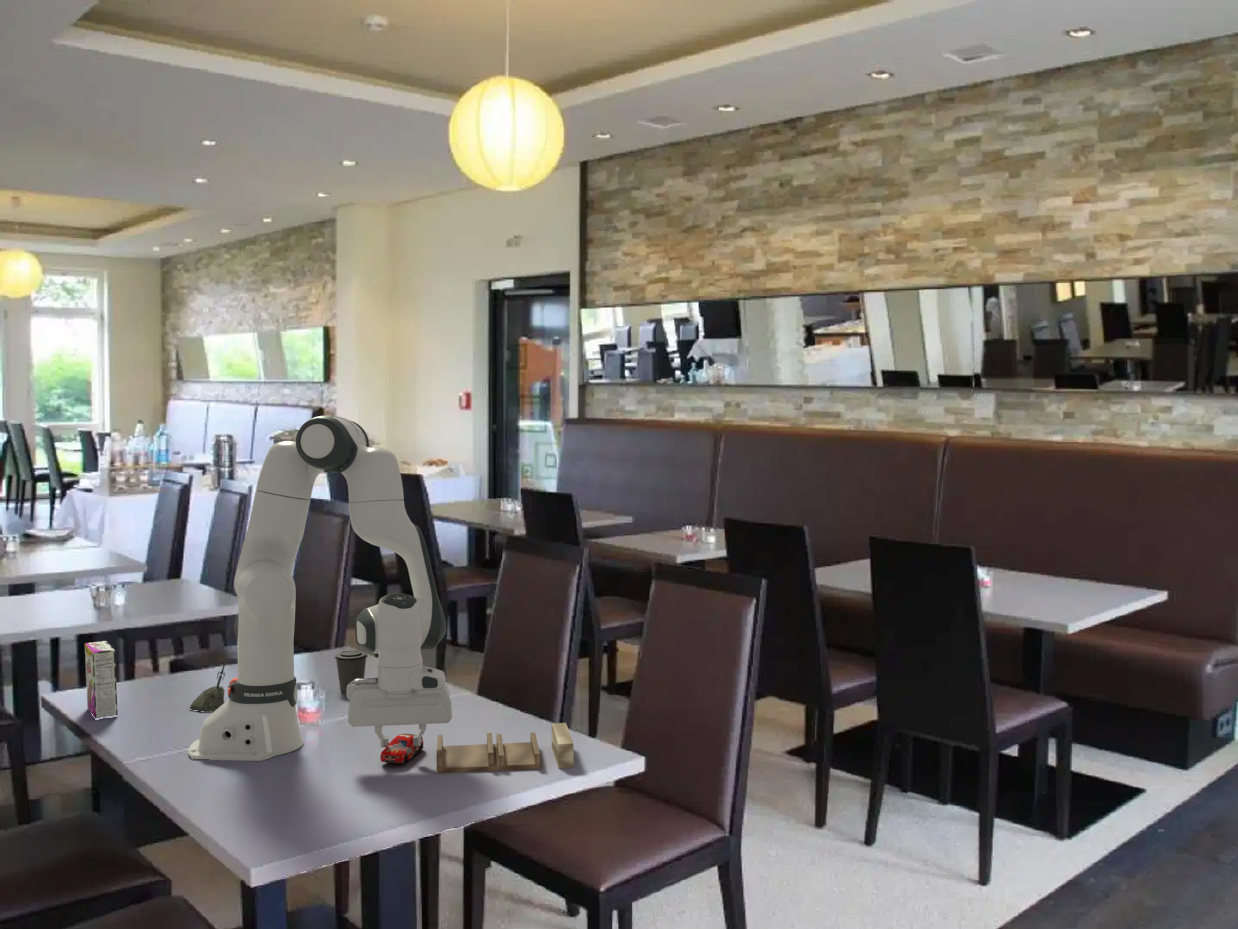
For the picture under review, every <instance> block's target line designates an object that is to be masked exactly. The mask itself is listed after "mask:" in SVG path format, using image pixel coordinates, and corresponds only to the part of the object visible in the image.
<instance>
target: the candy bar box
mask: <svg viewBox="0 0 1238 929" xmlns="http://www.w3.org/2000/svg"><path fill="white" fill-rule="evenodd" d="M84 655H85V656H84V658H85V660H84V662H85V678H86V680H85V681H86V683H85V684H86V699H87V700H86V701H87V703H86V704H87V707H86V708H87V710H88V709H89V711H90V712H91V713H92V714H93V716H94V717H95V718H100V717H106V716H113V715H118V692H117V691H118V690H117V671H116V670H117V668H116V650H115V649H114V648H113V646H111V644H110V643H109V642H108V641H107V640H102V641H94V642H85V643H84ZM89 711H88V712H89Z"/></svg>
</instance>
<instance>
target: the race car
mask: <svg viewBox="0 0 1238 929" xmlns="http://www.w3.org/2000/svg"><path fill="white" fill-rule="evenodd" d="M413 735H415V734H412V733H400V734H398V735H396V736H395V737H394V738H392V740H391V741H390V742H389V745H388V747H384V749H383V750H382V751H381V753H380V761H381V762H382V763H388V764H389V763H390V764H403V765H405V764H407V763H408V761H409V760H411V759H412V758H413V757H414V756H416V755H417V754H421V753H422V750H423V749H424V738H423V736H422V737H421V746H413Z"/></svg>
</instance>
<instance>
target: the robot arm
mask: <svg viewBox="0 0 1238 929" xmlns="http://www.w3.org/2000/svg"><path fill="white" fill-rule="evenodd" d="M323 472H324V473H330V472H331V473H335V474H342V475H343V476H344V478H345V480H346V485H347V489H348V490H347V491H348V506H349V507H348V510H349V519H350V525H351V528H352V529H353V531H354V533H355V534H356V535H357V536H358V537H359V538H360V539H361V540H363V541H365V543H366V542H367V543H369V544H370V545H373V546H376V547H378V548H382V549H385V550H388V551H390V552H394V553H396V554H397V555H398V556H400V557H401V558H402V559H403V561H404V563H405V564H406V567H407V571H408V576H409V580H410V584H411V589H412V593H413V595H410V594H406V593H396V592H395V593H389V594H386V595H384V596H382V597H380V599H379V601H378V604H375V605H373V606H370V607H367V608H365V607H364V608H363V610H362V611H361V612H360V613H359V614H358V616H357V618H356V619H355V624H354V628H355V630H354V633H355V634H354V635H355V641H356V644H357V645H358V646H359V648H361V649H362V650H363V651H364V652H365V653H369V654H378V658H377V662H376V666H377V672H376V674H377V677H371V678H369V677H368V678H364V679H354V681H352V682H350V683H349V684H348V685H347V688H346V698H347V700H348V701H349V706H348V714H347V722H348V724H349V725H350V726H351V727H352V728H356V727H357V728H358V727H359V728H360V727H361V728H362V727H374V733H375V734H376V735H377V738H378V739H379V740H380V741H379V742H380V748H386V747H388V745H389V743H390V742H389V736H385V734H384V733H383V731H382V730H383V726H385V727H386V726H387V727H388V726H408V725H409V726H410V725H411V726H412V725H418V730H419V731H418V733H417V734H414V735H413V746H421V737H422V738H423V735H424V733H425V731H426V730H427V725H431V724H433V725H435V724H448V723H450V721H451V720H452V718H453V712H452V710H453V708H452V699H451V694H450V693H451V692H450V690H449V688H448V686H447V685H446V684H445V683H446V675H445V672H444V671H443V670H440V669H437V668H434V667H430V666H426V665H424V664H423V663H424V662H423V656H422V651H421V650H433V649H435V648H436V647H437V646H438V644H440V643H441V641H442V640H443V639H444V637H445V636H446V633H447V620H446V616H445V613H444V610H443V607H442V604H441V601H440V598H439V595H438V591H437V585H436V582H435V578H434V573H433V569H432V564H431V560H430V557H429V556H430V555H429V551H428V548H427V547H428V546H427V544H426V540H425V538H424V537H425V536H424V534H423V532H422V530H421V528H420V527H419V526H418V525H416V524H414V523H413V522H412V521H411V519H410V517H409V515H408V513H407V510H406V506H405V501H404V499H405V498H404V495H405V494H404V486H403V480H402V474H401V470H400V466H399V462H398V459H397V457H396V455H395V454H394V453H393V452H392V451H390V450H388V449H386V448H383V447H374V446H373V447H370V440H369V436H368V434H367V432H366V431H365V430H364V428H363V427H362V426H361V425H359V424H358V423H357V422H355V421H352V420H349V419H347V418H345V417H341V416H329V415H320V416H319V415H318V416H315V417H312V418H310V419H308V420H306V421H305V422H304V423H303V424H302V425H301V426H300V428H299V429H298V431H297V433H296V437H295V441H294V440H293V441H292V440H284V441H279V442H276V443H274V444H273V445H271V447H270V448H269V449H268V450H267V453H266V456H265V458H264V460H263V463H262V466H261V469H260V473H259V476H258V480H257V483H256V488H255V493H254V496H253V497H254V498H253V501H252V507H251V512H250V517H249V522H248V526H247V530H246V534H245V537H244V540H243V543H242V548H241V552H240V555H239V558H238V563H237V567H236V571H235V574H234V580H233V581H234V582H233V586H234V590H235V594H236V595H237V600H238V624H237V626H238V627H237V646H236V647H237V677H233V678H232V679H231V680H230V681H229V683H228V687H227V695H228V698H229V699H227V701H224V704H223V705H221V706H220V707H219V708H218V709H217V710H215V711H214V712H211V714H209V715H208V716H207V717H206V718H205V719H204V721H203V723H202V726H201V729H200V733H199V738H198V739H195V741H193V742H192V743H191V744H190V746H189V747H188V750H187V755H188V754H189V756H190V757H191V758H192V759H191V760H193V759H209V760H208V761H236V762H237V761H239V762H241V761H242V762H245V761H246V762H249V761H250V762H256V761H257V762H262V761H266V760H268V759H271V758H273V757H276V756H280V755H281V756H282V755H284V754H288V753H291V752H294V751H296V750H299V749H300V748H301V747H302V746H303V745H304V739H303V737H302V736H303V735H302V733H301V729H300V725H299V719H298V712H297V706H296V705H297V702H298V683H297V677H296V676H295V664H294V662H295V660H294V658H295V657H294V654H295V653H294V648H295V647H294V639H295V638H294V637H295V636H294V634H295V623H296V620H295V619H296V598H297V596H296V595H297V594H296V593H297V592H296V590H297V588H296V583H295V580H294V578H293V577H292V576H293V575H292V573H293V569H294V565H295V562H296V559H297V558H296V557H297V555H298V551H299V548H300V545H301V542H302V540H303V539H304V538H303V537H304V533H305V529H306V528H305V527H306V523H307V519H308V514H309V509H310V504H311V499H312V493H313V489H314V484H315V482H316V479H317V477H318V476H319V475H320V474H321V473H323ZM352 683H354V684H352Z"/></svg>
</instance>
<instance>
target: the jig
mask: <svg viewBox="0 0 1238 929" xmlns="http://www.w3.org/2000/svg"><path fill="white" fill-rule="evenodd" d="M529 734H530V737H529V740H530V741H525V742H508V743H507V742H505V743H504V742H503V738H502V737H503V736H502V734H501V733H497V734H496V743H494V742H493V733H492V732H486V743H484V744H483V743H481V744H461V745H459V744H458V745H444V738H443V737H444V735H443V734H438V735H437V743H436V758H435V759H436V774H449V773H451V774H453V773H456V774H457V773H476V772H477V773H479V772H499V771H500V772H501V771H502V772H503V771H522V770H524V771H525V770H527V771H528V770H540V769H541V753H540V748H539V743H538V739H537V734H536V732H530V733H529Z"/></svg>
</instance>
